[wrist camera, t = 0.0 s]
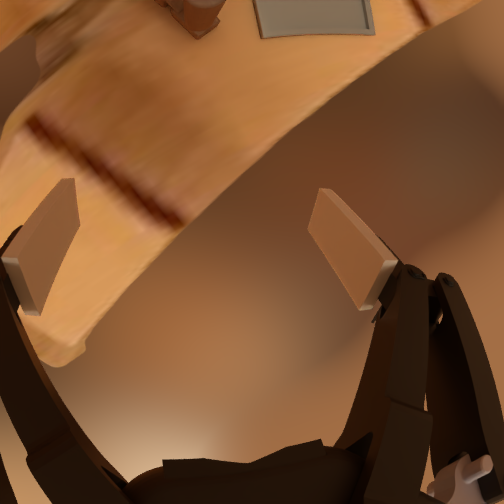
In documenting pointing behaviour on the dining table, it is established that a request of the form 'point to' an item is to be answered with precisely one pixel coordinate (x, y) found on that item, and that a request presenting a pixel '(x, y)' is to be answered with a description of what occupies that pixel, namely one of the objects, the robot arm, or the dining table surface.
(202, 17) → the wooden block
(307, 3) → the slate tray
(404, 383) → the robot arm
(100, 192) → the dining table surface
